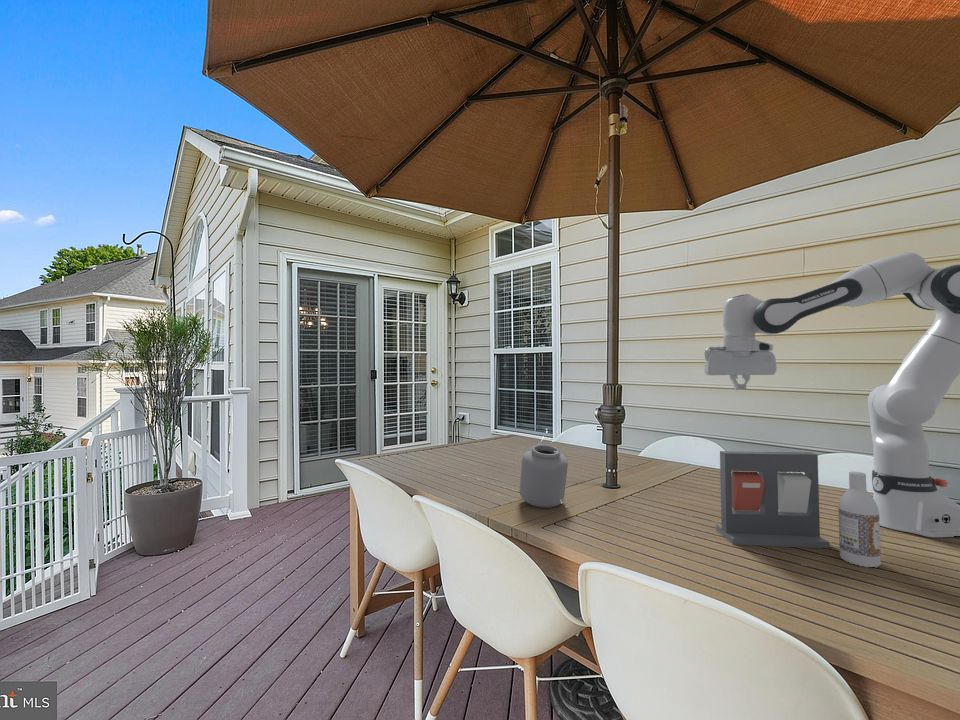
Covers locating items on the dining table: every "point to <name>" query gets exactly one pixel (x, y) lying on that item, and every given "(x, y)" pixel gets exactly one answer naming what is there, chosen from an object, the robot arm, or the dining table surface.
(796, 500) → the grey rocker
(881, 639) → the dining table surface
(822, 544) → the switch panel
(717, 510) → the dining table surface
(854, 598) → the dining table surface
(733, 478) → the red rocker
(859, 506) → the bath foam
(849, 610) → the dining table surface
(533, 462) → the jar
